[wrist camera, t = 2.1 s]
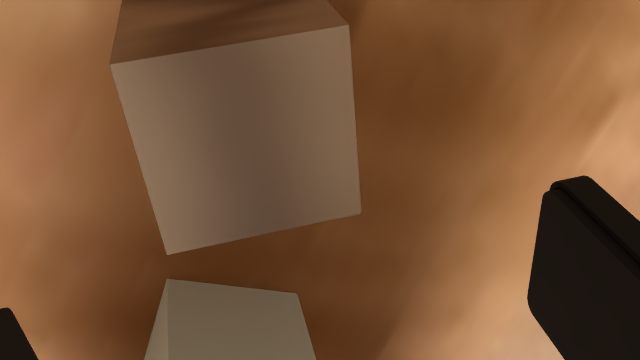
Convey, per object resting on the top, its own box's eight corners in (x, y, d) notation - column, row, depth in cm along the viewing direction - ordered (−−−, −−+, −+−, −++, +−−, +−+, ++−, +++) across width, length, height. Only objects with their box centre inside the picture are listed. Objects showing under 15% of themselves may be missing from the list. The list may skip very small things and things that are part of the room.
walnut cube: (302, -28, 20) (349, 24, 15) (318, 128, 23) (361, 213, 18) (122, -1, 19) (109, 64, 14) (165, 157, 22) (167, 255, 18)
